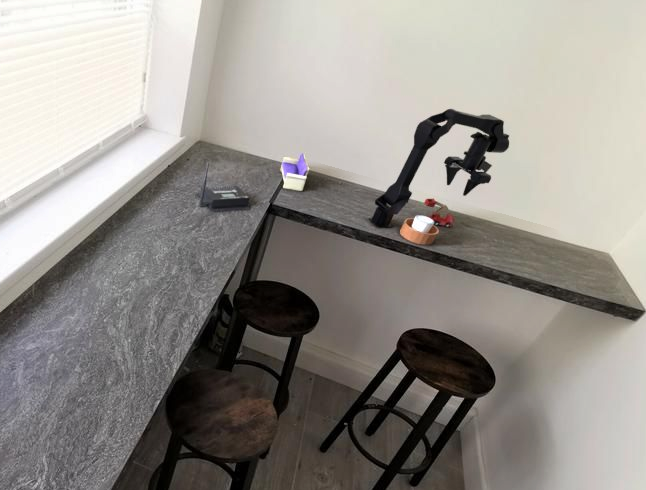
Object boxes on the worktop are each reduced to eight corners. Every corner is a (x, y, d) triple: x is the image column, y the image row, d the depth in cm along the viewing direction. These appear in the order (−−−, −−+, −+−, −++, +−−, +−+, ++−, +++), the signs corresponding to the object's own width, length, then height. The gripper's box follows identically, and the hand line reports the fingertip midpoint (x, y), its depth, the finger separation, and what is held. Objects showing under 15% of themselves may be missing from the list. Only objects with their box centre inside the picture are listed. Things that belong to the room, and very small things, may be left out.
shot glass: (424, 242, 184) (433, 225, 180) (406, 235, 186) (414, 219, 182) (427, 235, 189) (435, 219, 185) (409, 229, 191) (417, 213, 187)
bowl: (412, 245, 182) (418, 234, 179) (393, 228, 191) (398, 218, 188) (440, 244, 185) (445, 234, 182) (419, 228, 194) (424, 218, 191)
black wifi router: (233, 192, 198) (242, 151, 188) (249, 209, 188) (261, 166, 178) (188, 195, 191) (196, 152, 181) (203, 212, 181) (212, 168, 171)
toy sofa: (279, 170, 224) (285, 148, 218) (298, 173, 224) (304, 151, 218) (282, 188, 208) (289, 165, 202) (302, 192, 208) (310, 169, 201)
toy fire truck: (451, 227, 198) (463, 206, 192) (418, 222, 198) (429, 200, 192) (448, 224, 201) (460, 202, 195) (415, 218, 201) (426, 197, 195)
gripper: (513, 162, 177) (489, 201, 186) (476, 142, 191) (456, 180, 200) (488, 161, 174) (466, 201, 183) (452, 141, 188) (434, 179, 197)
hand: (456, 190), depth 191 cm, fingers open, 9 cm apart
